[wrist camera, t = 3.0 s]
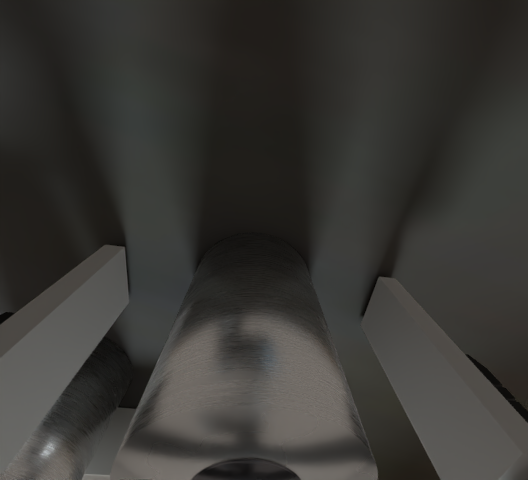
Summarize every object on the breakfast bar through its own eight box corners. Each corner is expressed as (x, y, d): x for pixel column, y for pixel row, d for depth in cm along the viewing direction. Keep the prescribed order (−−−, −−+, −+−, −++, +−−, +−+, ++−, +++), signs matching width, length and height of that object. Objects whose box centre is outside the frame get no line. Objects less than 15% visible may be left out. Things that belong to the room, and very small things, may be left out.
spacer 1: (18, 323, 12) (-267, 556, 5) (129, 333, 12) (-15, 564, 6) (40, 395, 14) (-150, 629, 7) (135, 402, 14) (33, 630, 8)
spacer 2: (198, 225, 10) (92, 397, 4) (320, 240, 10) (421, 421, 4) (193, 323, 12) (119, 549, 6) (297, 333, 12) (339, 555, 6)
